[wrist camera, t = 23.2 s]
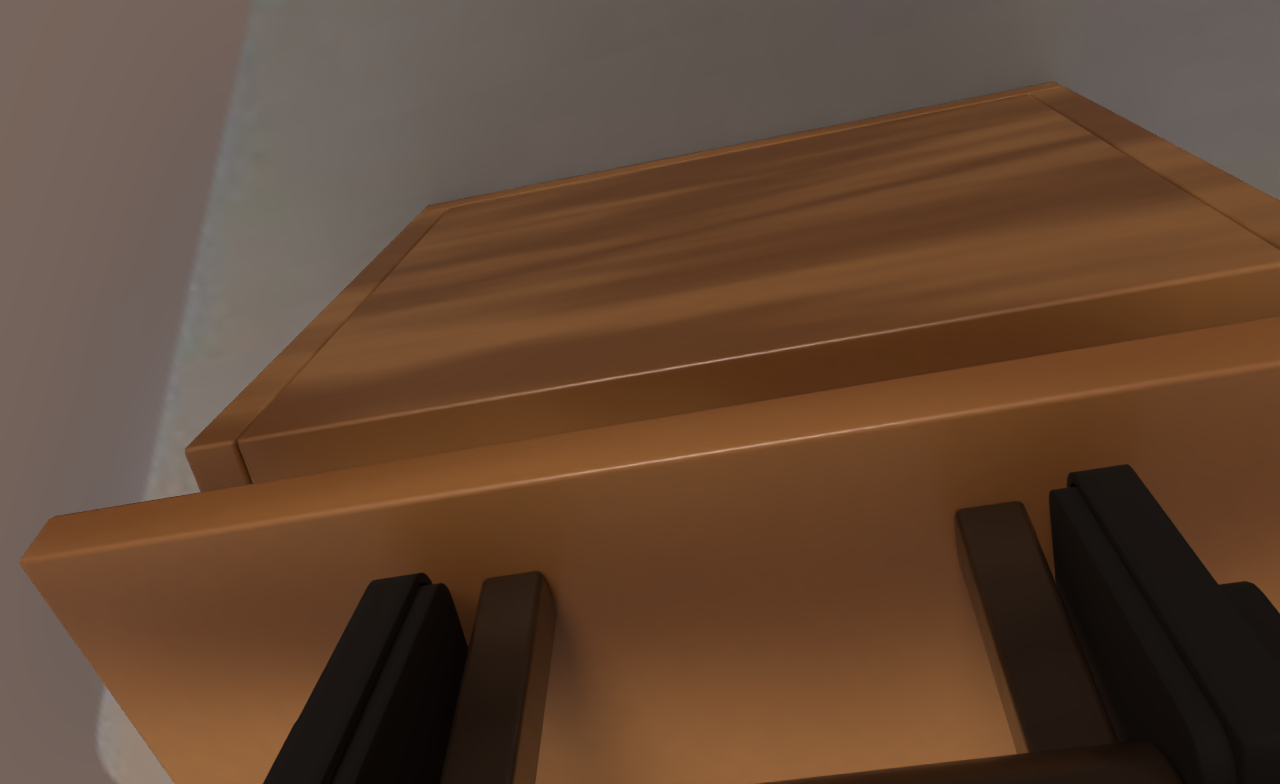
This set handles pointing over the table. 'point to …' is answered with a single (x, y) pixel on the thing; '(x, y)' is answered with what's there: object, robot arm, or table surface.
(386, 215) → the table surface
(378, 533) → the chest lid
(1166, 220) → the chest
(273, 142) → the table surface
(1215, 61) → the table surface
